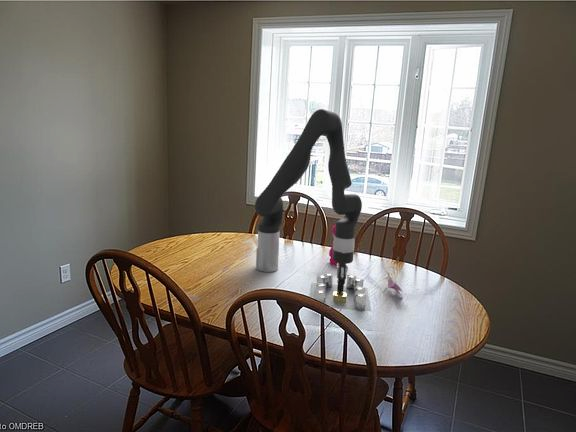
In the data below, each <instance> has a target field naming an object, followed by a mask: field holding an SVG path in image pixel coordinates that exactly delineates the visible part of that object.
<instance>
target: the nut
mask: <svg viewBox="0 0 576 432" xmlns="http://www.w3.org/2000/svg"><path fill="white" fill-rule="evenodd" d="M333 301H334V302H337V303H344V302H346V293H345V292H342V291H336V292H334V293H333Z"/></svg>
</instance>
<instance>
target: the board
mask: <svg viewBox="0 0 576 432" xmlns="http://www.w3.org/2000/svg"><path fill="white" fill-rule="evenodd" d="M316 284H317V282H311V284H310V289H309V290H310V291H309V296H310V297H313V298H315V291H316ZM337 287H338V284H332V288H326V296H325V304H327V305H329V306H331V307H333V309H342V310H343V309H344V310H352V311H353V310H355V302H354V293H353V290H348V289H346V285H344V289H343V292H345V293H346V302H344V303H337V302H334V301H333V293H334V292H336V291H337ZM363 287H364V286H363ZM364 288H365V295H366V304H365V310H364V311H367V312H372V305H371V301H370V295H369V290H368V287H364ZM331 307H330V308H331ZM355 311H356V310H355ZM305 325H307V326H308V325H309V324H308V323H307V324H305ZM314 326H316V327H320V325H318V324H317V325H316V324H314ZM324 327H326V328H330V326H328V325H327V326H326V325H324ZM335 328H336V329H340V327H338V326H335ZM365 331H367V332H368V331H369V332H371V330H370V329H369V330H368V329H365Z"/></svg>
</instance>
